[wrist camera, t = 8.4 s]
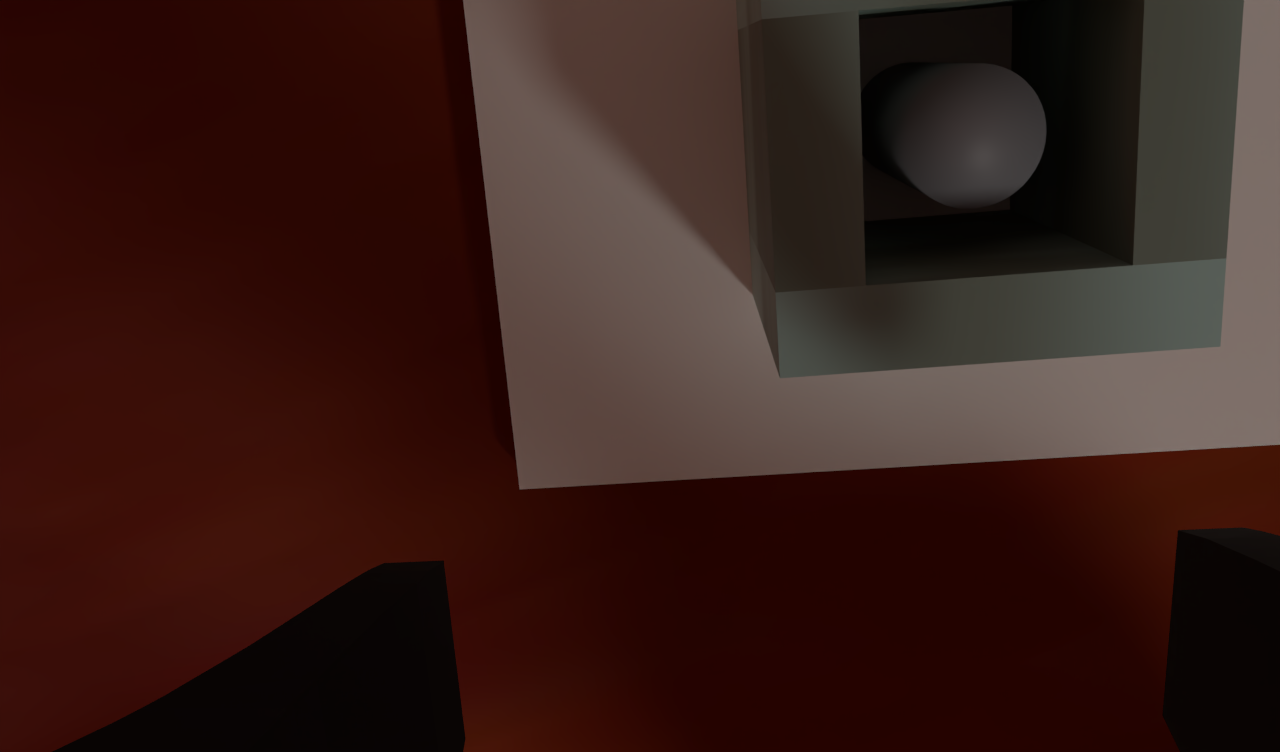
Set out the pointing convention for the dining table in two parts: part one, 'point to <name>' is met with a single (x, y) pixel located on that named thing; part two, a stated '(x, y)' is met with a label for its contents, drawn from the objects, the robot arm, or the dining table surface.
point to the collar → (1039, 211)
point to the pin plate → (721, 264)
